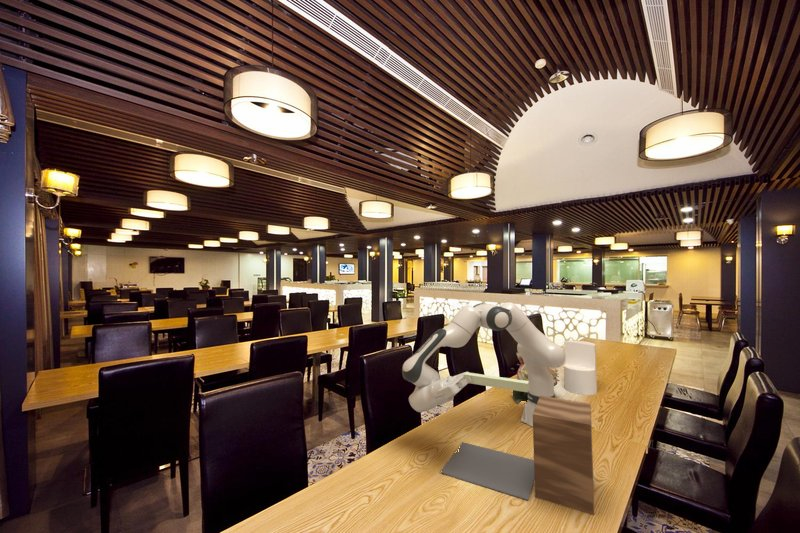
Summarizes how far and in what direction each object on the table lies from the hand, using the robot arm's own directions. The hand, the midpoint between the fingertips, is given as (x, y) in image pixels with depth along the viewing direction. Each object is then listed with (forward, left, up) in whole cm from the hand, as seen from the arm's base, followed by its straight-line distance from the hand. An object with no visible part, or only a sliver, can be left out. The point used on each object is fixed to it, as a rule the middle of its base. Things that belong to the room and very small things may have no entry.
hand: (473, 377), depth 123 cm
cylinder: (-94, +58, -32) cm, 115 cm away
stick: (+2, +8, -2) cm, 8 cm away
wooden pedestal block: (+8, +29, -32) cm, 44 cm away
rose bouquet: (-74, +30, -32) cm, 86 cm away
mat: (+1, +5, -32) cm, 33 cm away
